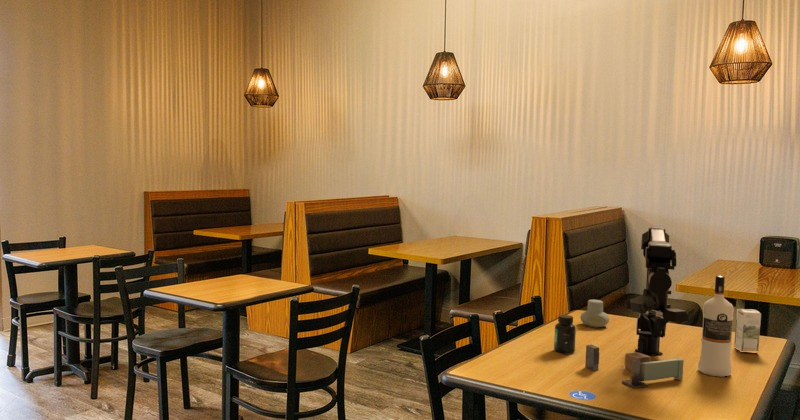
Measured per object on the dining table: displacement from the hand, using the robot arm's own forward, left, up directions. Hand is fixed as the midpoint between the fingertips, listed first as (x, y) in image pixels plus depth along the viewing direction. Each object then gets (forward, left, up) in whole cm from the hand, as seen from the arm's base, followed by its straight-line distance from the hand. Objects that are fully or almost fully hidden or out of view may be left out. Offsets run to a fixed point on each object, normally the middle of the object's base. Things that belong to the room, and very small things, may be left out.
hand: (655, 338), depth 186 cm
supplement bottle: (+9, -30, -12) cm, 34 cm away
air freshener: (-25, -56, -12) cm, 63 cm away
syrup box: (-53, -11, -12) cm, 56 cm away
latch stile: (+12, -12, -12) cm, 21 cm away
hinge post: (+10, +4, -12) cm, 16 cm away
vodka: (-22, +3, -12) cm, 25 cm away
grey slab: (+1, +3, -12) cm, 12 cm away
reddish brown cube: (0, -6, -12) cm, 14 cm away
